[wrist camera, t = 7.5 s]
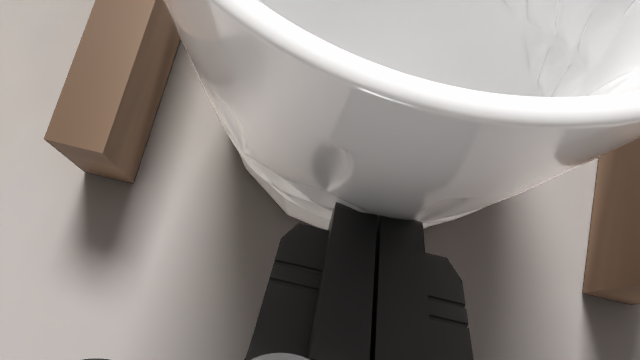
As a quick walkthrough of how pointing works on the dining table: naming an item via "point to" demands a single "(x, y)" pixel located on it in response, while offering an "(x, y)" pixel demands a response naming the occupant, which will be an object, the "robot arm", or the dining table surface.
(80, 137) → the wooden bracket
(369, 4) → the white cup
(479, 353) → the dining table surface
